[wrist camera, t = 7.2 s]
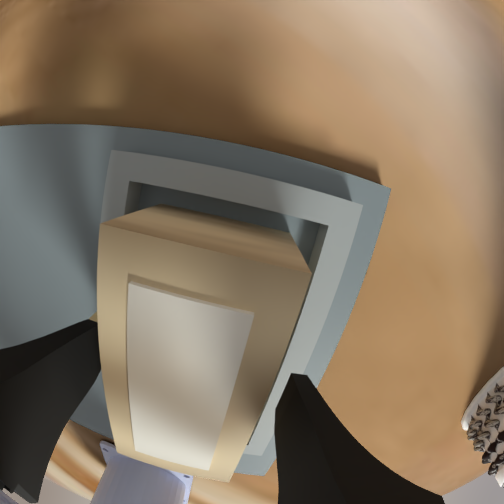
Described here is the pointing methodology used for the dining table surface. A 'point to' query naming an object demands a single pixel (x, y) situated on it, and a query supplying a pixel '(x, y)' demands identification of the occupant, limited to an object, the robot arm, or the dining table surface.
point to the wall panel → (184, 196)
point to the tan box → (192, 332)
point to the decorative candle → (488, 424)
